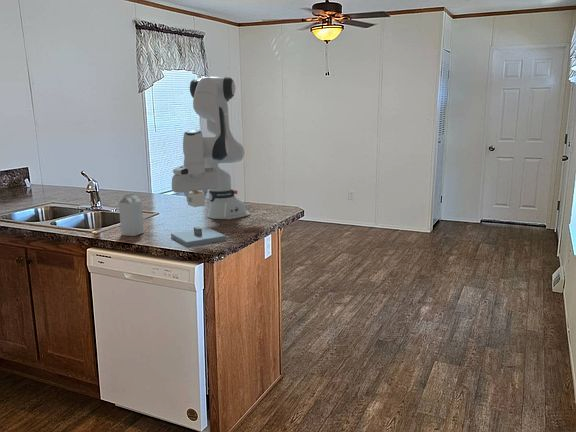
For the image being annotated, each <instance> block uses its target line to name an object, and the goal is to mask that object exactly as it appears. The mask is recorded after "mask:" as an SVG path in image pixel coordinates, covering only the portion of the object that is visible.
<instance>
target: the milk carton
mask: <svg viewBox="0 0 576 432" xmlns="http://www.w3.org/2000/svg"><path fill="white" fill-rule="evenodd" d="M118 210H119V211H118V212H119V222H120V234H121V236H126V237H127V236H129V237H135V236H138V235H141V234H143V233H145V232H144V220H143V205H142V200H141V199H140V198H139V197H138V196H137V195H136V194H135V191H134V192H133V191H132V192H129V193H125V194H123V198H122V199H120V201H119V202H118Z"/></svg>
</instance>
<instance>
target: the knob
mask: <svg viewBox="0 0 576 432" xmlns="http://www.w3.org/2000/svg"><path fill="white" fill-rule="evenodd" d="M188 196H189V197H190V198H191V200H192V201H191V202H187V205H188V206H190V207H192V208H198V207H205V206H206V196H205V193H204V192H203V191H200V190H199V191H189V194H188Z"/></svg>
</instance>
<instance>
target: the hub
mask: <svg viewBox="0 0 576 432" xmlns="http://www.w3.org/2000/svg"><path fill="white" fill-rule="evenodd" d="M170 238H171V239H172V240H174V241H176V242H177V243H179V244H181V245H183V246H185V247H186V248H189V247H194V246H199V245H200V246H201V245H205V244H206V243H207V244H211V243H212V242H213V243H217V242H224V241H227V236H226V234H223V233H220V232H218V231H217V230H215V229H211V228H210V227H204V228H202V227H199V226H194V227H193V229H191V230H185V231H179V232H172V233H170ZM213 243H212V244H213ZM207 244H206V245H207Z"/></svg>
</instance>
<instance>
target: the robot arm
mask: <svg viewBox="0 0 576 432" xmlns="http://www.w3.org/2000/svg"><path fill="white" fill-rule="evenodd" d="M189 92H190V96H191V97H192V98H193V100H192V105H193V106H192V108H193V111H194V112H195V113H196V114H197V115H198V116H200V117H201V118H202V119H204V120H206V128H207V131H208V132H209V133H211V134H212V135H214V136H206V137H205V136H203V132H202V130H198V129H190V130H187V131H185V132H183V138H182V153H183V155H184V156H183V159H184V160H183V164H182V165H180V166H178V167H176V168H173V169H172V174H174V175H172V178H171V190H172V192H173V193H175V194H177V193H178V194H179V193H183V194H184V197H186V198H185V199H186V202H187V203H188V202H191V201H192V200H191V198H190V197H189V196H188V194H189V192H192V191H199V192H200V191H202V193H205V197H206V196H207V194H208V199H209V209H208V214H207V217H208V218H209V219H213V220H233V219H238V218H239V219H240V218H243V217H247V216H251V212H249V211H248V210H247V209H246V204H245V203H244V202H243V201H242V200H240V199H239V198H237V196H235V195H238V193H239V191H238V190H236V189H232V184H231V183H232V181H231V174H230V173H229V172H228V171H226V170H224V169H222V168H220V167H219V164H235V163H239V162H242V160H243V159H244V156H245V150H244V146H243V144H241V143H240V142H239V141H238V140H237V139H235V137H234V136H233V134H232V132H231V129H230V128H231V127H230V119H229V106H228V105H229V104H228V102H229V101H230V100H231V99H233V97H234V96H235V92H236V84H235V82H234V79H232V78H231V77H229V76H203V77H196V78H193V79H192V80H191V81H190V84H189Z"/></svg>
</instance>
